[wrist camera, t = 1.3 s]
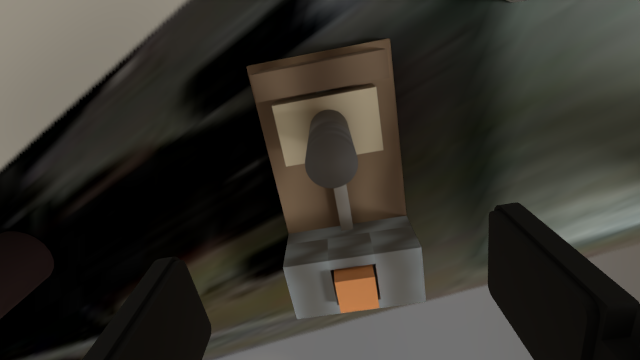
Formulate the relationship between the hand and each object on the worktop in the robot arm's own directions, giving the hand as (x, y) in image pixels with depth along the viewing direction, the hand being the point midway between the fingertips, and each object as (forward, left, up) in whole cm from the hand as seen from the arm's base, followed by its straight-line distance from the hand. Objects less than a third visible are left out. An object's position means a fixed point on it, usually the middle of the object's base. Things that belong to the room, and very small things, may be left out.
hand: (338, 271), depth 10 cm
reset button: (0, +14, -17) cm, 22 cm away
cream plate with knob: (0, 0, -20) cm, 20 cm away
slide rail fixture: (0, +5, -23) cm, 23 cm away
